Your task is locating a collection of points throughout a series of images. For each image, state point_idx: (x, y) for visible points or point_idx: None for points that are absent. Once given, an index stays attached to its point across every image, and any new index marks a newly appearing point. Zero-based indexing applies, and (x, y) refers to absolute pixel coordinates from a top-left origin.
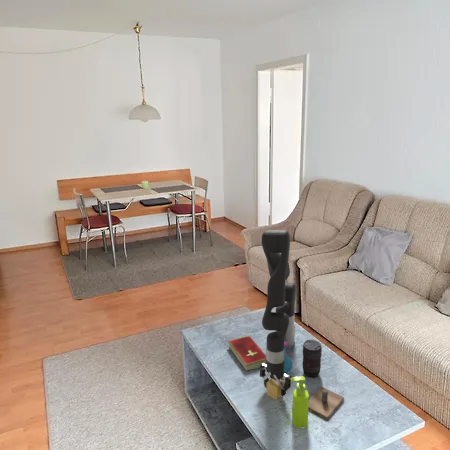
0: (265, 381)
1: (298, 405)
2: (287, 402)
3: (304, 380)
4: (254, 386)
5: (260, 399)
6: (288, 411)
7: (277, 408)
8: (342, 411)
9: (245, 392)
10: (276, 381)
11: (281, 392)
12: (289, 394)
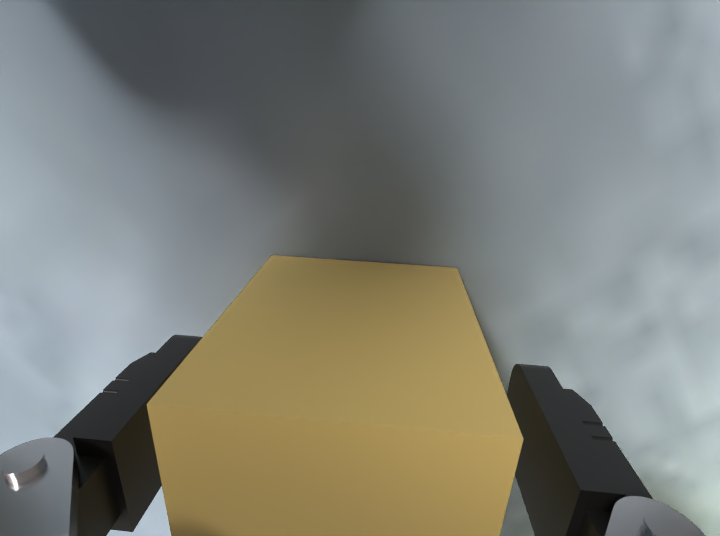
0: (133, 512)
1: None
2: (588, 384)
3: None
4: (66, 364)
5: None
6: (654, 492)
7: (512, 509)
8: None
9: None
10: (348, 525)
11: (529, 495)
12: (555, 233)
